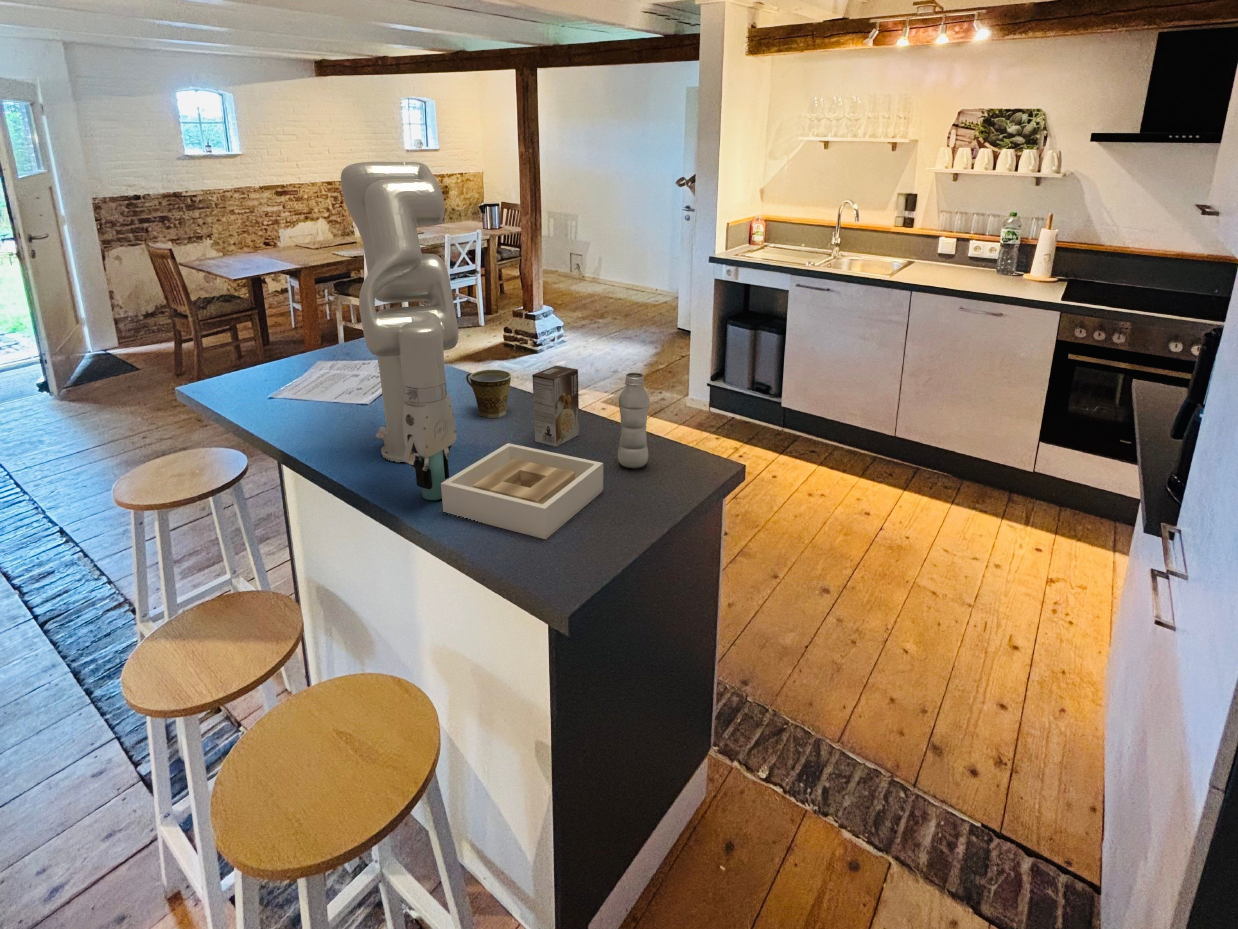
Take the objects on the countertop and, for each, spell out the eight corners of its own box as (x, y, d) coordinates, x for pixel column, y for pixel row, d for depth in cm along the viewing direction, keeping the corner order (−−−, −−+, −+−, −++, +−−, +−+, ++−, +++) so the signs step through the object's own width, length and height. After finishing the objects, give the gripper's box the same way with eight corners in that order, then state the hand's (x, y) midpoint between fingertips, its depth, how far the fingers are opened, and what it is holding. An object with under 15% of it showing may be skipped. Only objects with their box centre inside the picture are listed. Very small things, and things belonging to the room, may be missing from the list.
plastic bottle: (626, 474, 158) (628, 381, 150) (612, 462, 164) (613, 372, 156) (653, 468, 161) (657, 377, 153) (638, 457, 166) (640, 368, 158)
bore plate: (473, 504, 142) (472, 485, 141) (514, 477, 154) (513, 458, 152) (537, 520, 137) (537, 500, 135) (575, 490, 149) (575, 472, 147)
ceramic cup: (520, 412, 192) (519, 373, 188) (494, 423, 184) (492, 383, 180) (481, 402, 198) (479, 365, 194) (454, 413, 190) (451, 374, 186)
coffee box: (557, 429, 181) (556, 364, 174) (579, 435, 178) (579, 368, 171) (533, 441, 174) (531, 373, 167) (556, 447, 171) (555, 378, 164)
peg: (417, 496, 146) (412, 438, 141) (432, 487, 149) (427, 431, 144) (436, 501, 144) (431, 443, 139) (450, 492, 148) (446, 435, 142)
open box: (443, 512, 141) (440, 483, 139) (509, 469, 159) (507, 443, 157) (545, 539, 132) (545, 508, 130) (603, 490, 151) (603, 463, 148)
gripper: (411, 409, 129) (420, 504, 137) (470, 381, 143) (475, 469, 151) (376, 401, 132) (387, 495, 140) (437, 375, 146) (444, 462, 154)
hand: (433, 481), depth 145 cm, fingers closed on peg, 4 cm apart
